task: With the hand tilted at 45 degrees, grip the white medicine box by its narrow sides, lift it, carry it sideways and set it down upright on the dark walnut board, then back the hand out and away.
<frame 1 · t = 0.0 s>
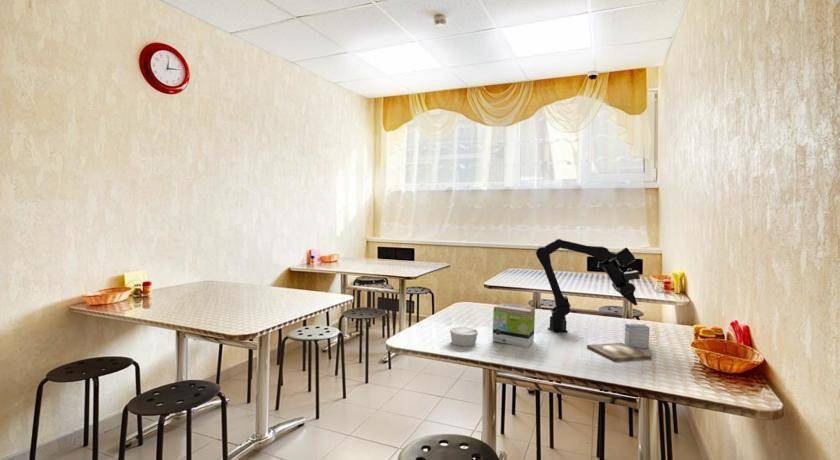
hand: (633, 302, 185), 15 cm above the table, tool tilted 35°, fingers open, 9 cm apart
tea box: (513, 342, 175), on the table
walnut board: (618, 353, 163), on the table
ramekin: (463, 343, 172), on the table
medicine box: (636, 346, 172), on the table
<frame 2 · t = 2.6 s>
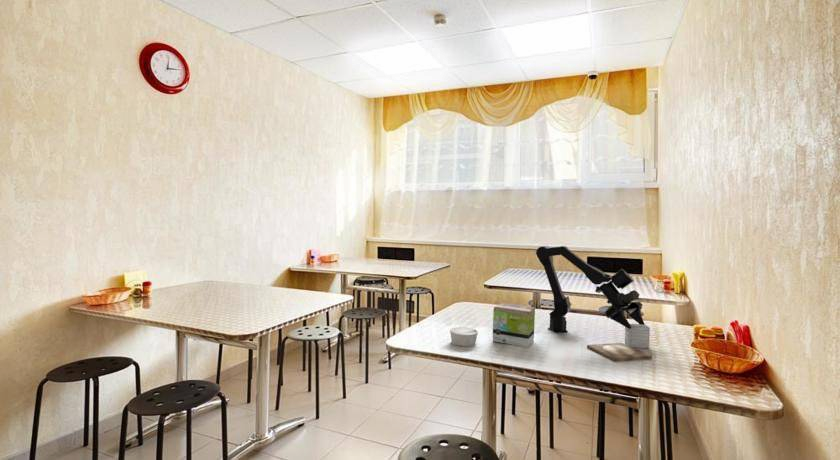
hand: (637, 327, 171), 8 cm above the table, tool tilted 45°, fingers open, 9 cm apart
medicine box: (636, 347, 172), on the table, touching gripper
everything else where it was.
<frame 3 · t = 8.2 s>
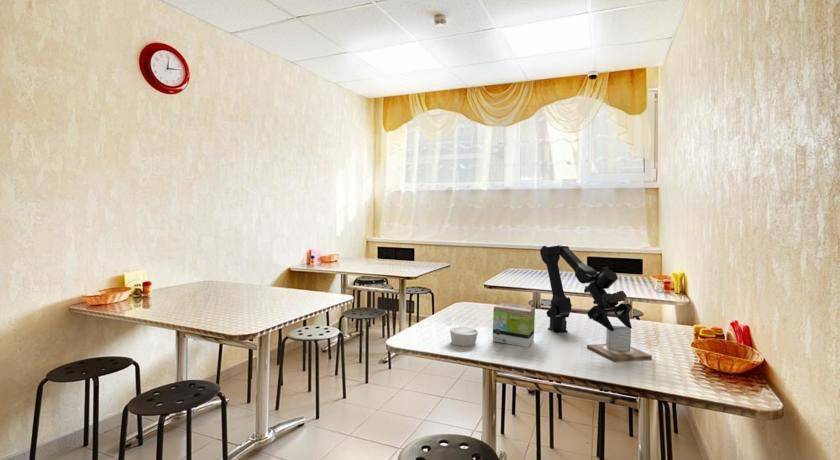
hand: (622, 329, 161), 9 cm above the table, tool tilted 45°, fingers open, 9 cm apart
medicine box: (617, 350, 163), point 1 cm above the table, touching gripper, walnut board
everything else where it was.
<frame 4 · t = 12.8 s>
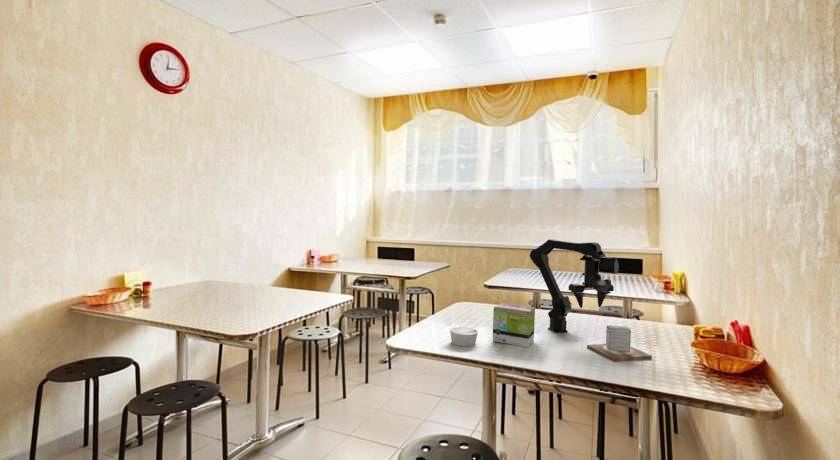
hand: (590, 307, 183), 13 cm above the table, tool pointing down, fingers open, 9 cm apart
medicine box: (617, 350, 163), point 1 cm above the table, touching walnut board
everything else where it was.
at the end: medicine box inside the target area on the walnut board (0.2 cm from its centre), point 1.1 cm above the walnut board's base; medicine box tilted 0°; the gripper is holding nothing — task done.
